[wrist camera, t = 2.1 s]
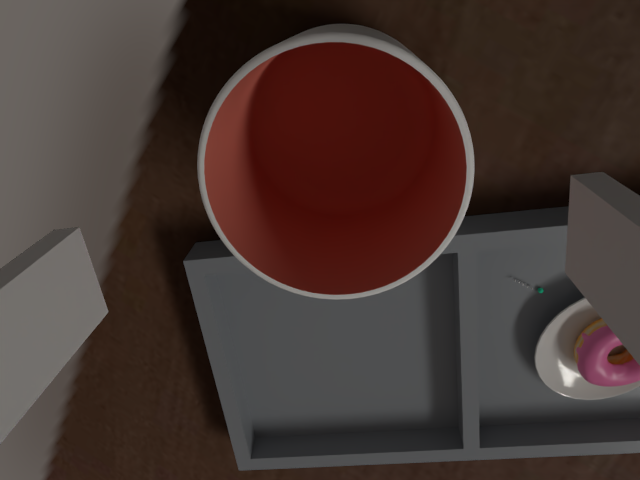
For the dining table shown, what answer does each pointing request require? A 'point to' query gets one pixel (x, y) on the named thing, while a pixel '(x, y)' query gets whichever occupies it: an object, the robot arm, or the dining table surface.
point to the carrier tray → (405, 358)
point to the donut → (584, 355)
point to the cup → (336, 163)
